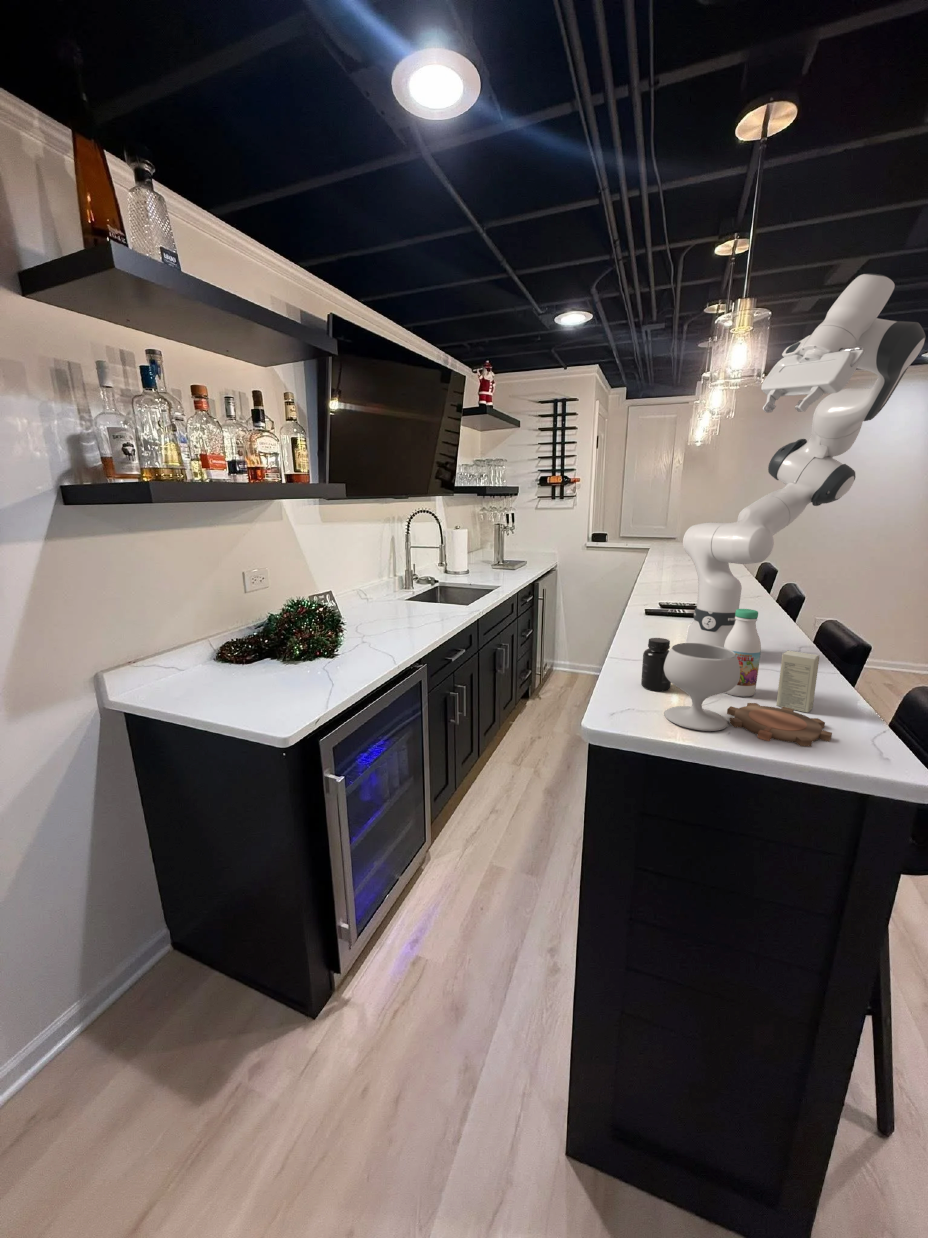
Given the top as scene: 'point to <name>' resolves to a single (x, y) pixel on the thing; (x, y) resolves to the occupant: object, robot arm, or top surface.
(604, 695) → the top surface
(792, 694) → the skincare box
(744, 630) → the milk bottle
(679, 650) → the chalice
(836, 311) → the robot arm
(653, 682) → the supplement bottle
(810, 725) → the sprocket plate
